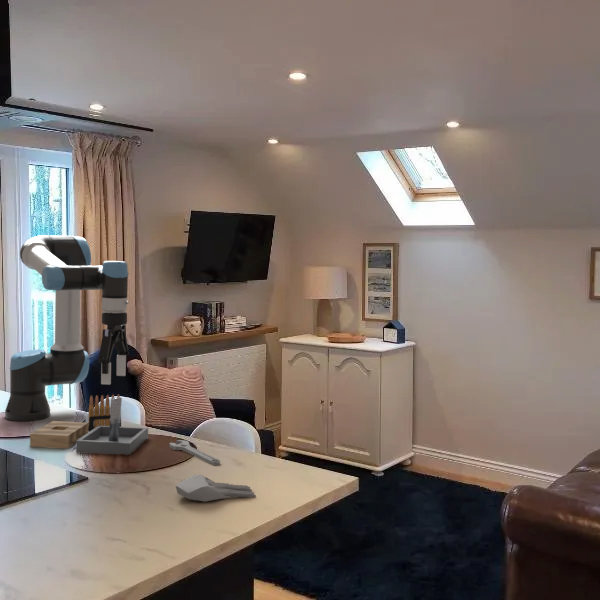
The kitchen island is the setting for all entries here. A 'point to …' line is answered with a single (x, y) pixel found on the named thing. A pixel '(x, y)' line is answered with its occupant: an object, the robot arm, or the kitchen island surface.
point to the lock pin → (115, 419)
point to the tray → (100, 441)
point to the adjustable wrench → (194, 452)
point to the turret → (210, 489)
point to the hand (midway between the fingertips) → (113, 379)
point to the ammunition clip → (103, 416)
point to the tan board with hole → (58, 434)
